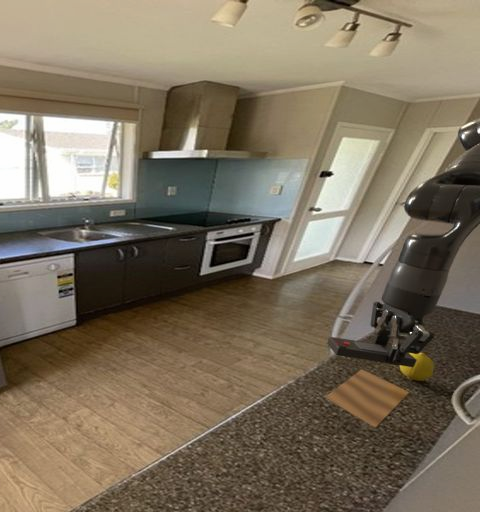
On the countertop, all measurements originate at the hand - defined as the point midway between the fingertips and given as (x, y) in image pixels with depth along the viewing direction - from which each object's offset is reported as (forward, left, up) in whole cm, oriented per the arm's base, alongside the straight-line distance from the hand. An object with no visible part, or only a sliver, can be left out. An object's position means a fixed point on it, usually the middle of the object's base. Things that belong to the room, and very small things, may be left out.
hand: (384, 355), depth 63 cm
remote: (+3, +1, 0) cm, 3 cm away
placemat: (0, 0, -11) cm, 11 cm away
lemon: (-12, -12, -12) cm, 21 cm away
